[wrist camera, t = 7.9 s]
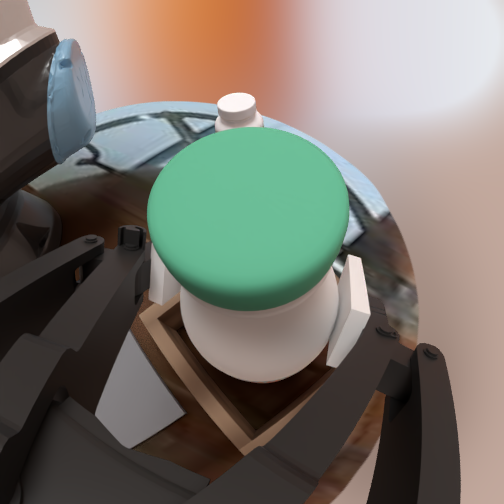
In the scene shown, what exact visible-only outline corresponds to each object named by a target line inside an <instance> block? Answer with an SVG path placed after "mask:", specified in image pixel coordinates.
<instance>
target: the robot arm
mask: <svg viewBox="0 0 504 504" xmlns="http://www.w3.org/2000/svg"><path fill="white" fill-rule="evenodd" d="M95 128H96V112H95V103H94V98H93V92H92V87H91V82H90V78H89V73H88V69H87V66H86V62H85V59H84V56H83V54H82V52H81V49H80V46H79V44H78V42H77V41H76V40H75V39H68V40H67V39H64V40H63V41H61V42H59V40H58V37H57V35H56V32H55V30H54V29H51V28H46V27H40V26H38V25H37V24H36V23H35V22H34V19H33V17H32V14H31V11H30V8H29V5H28V2H27V0H0V504H303V503H304V502H305V501H306V500H307V499H308V497H309V496H310V495H311V494H312V492H313V491H314V490H315V488H316V487H317V485H318V481H319V479H320V478H321V476H322V475H323V473H324V472H325V471H326V469H327V468H328V467H329V465H330V464H331V462H332V461H333V460H334V458H335V457H336V455H337V454H338V452H339V451H340V449H341V448H342V446H343V445H344V443H345V442H346V440H347V439H348V437H349V435H350V434H351V432H352V431H353V429H354V427H355V426H356V424H357V422H358V421H359V419H360V417H361V415H362V414H363V412H364V410H365V408H366V407H367V405H368V403H369V401H370V399H371V398H372V396H373V394H374V392H375V390H378V391H380V392H382V393H384V394H386V397H385V405H384V414H383V422H382V429H381V436H380V443H379V449H378V454H377V460H376V465H375V470H374V475H373V479H372V483H371V488H370V492H369V496H368V500H367V503H366V504H460V492H461V489H460V488H461V485H460V484H461V483H460V481H461V480H460V479H461V478H460V454H459V442H458V432H457V423H456V416H455V409H454V402H453V396H452V391H451V386H450V380H449V376H448V371H447V367H446V362H445V358H444V356H443V354H442V353H441V352H440V350H439V349H438V348H436V347H435V346H432V345H430V344H426V343H420V344H419V345H417V347H416V349H415V350H414V351H413V350H411V349H409V348H407V347H405V346H403V345H402V344H400V343H399V342H398V341H399V334H398V332H397V331H396V330H395V329H394V328H392V327H391V326H389V324H388V320H387V316H386V311H385V307H384V304H383V303H382V302H381V301H380V300H379V299H378V298H375V297H371V296H368V295H367V289H366V283H365V278H364V273H363V267H362V262H361V258H358V257H355V256H352V255H349V254H348V257H347V260H346V263H345V266H344V269H343V272H342V275H341V277H340V280H339V283H338V294H339V304H338V314H337V319H336V323H335V326H334V329H333V331H332V334H331V336H330V339H329V347H328V355H327V362H326V365H328V366H332V367H335V368H336V369H335V371H334V372H333V373H332V374H331V375H330V377H329V378H328V379H327V380H326V381H325V383H324V384H323V385H322V386H321V387H320V388H319V390H318V391H317V392H316V393H315V394H314V395H313V396H312V397H311V399H310V400H309V401H308V402H307V403H306V404H305V405H304V406H303V407H302V408H301V409H300V411H299V412H298V413H297V414H296V415H295V416H294V417H293V418H292V419H291V420H290V421H289V422H288V423H287V424H286V425H285V426H284V427H283V428H282V429H281V430H280V431H279V432H278V433H277V434H276V435H275V436H274V437H273V438H272V439H271V440H270V441H269V442H268V443H266V444H265V445H264V446H258V447H256V448H254V449H253V450H252V451H251V452H249V453H248V454H247V455H246V456H245V457H243V458H242V459H241V460H240V461H239V462H237V463H236V464H235V465H234V466H233V467H231V468H230V469H229V470H228V471H226V472H225V473H224V474H223V475H221V476H220V477H219V478H218V479H216V480H215V481H214V482H212V483H211V484H210V485H209V482H210V479H208V478H206V477H204V476H201V475H199V474H196V473H194V472H192V471H190V470H187V469H185V468H183V467H181V466H179V465H177V464H175V463H173V462H171V461H168V460H164V459H161V458H157V457H154V456H151V455H147V454H144V453H141V452H138V451H135V450H132V449H129V448H127V447H125V446H123V445H122V444H121V443H120V442H119V441H118V440H117V439H116V438H115V437H114V436H113V435H112V434H111V433H110V432H109V430H108V429H107V428H106V427H105V426H104V425H103V424H102V423H101V421H100V420H99V419H98V418H97V417H96V416H95V412H96V409H97V406H98V404H99V401H100V398H101V396H102V393H103V391H104V388H105V385H106V383H107V380H108V378H109V376H110V373H111V371H112V368H113V366H114V364H115V361H116V359H117V356H118V354H119V352H120V350H121V347H122V345H123V343H124V340H125V338H126V336H127V334H128V332H129V329H130V327H131V325H132V323H133V321H134V319H135V316H136V314H137V312H138V310H139V308H140V306H141V304H142V302H143V292H144V291H146V290H147V289H149V300H151V301H153V302H155V303H157V304H160V305H164V304H165V303H166V302H167V301H169V300H170V299H171V298H172V297H174V296H175V295H176V294H177V293H179V292H180V291H181V285H180V283H179V282H178V281H177V280H176V279H175V278H174V277H173V276H172V275H171V273H170V272H169V271H168V269H167V268H166V267H165V265H164V264H163V262H162V261H161V259H160V257H159V256H158V254H157V252H156V250H155V248H154V246H153V243H152V241H150V242H148V243H146V231H147V230H146V229H145V228H143V227H140V226H135V225H125V226H121V227H119V228H118V246H117V247H116V248H115V249H114V250H113V249H108V248H104V239H103V238H102V237H100V236H96V235H87V236H83V237H80V238H78V239H76V240H74V241H72V242H70V243H68V244H66V245H63V246H61V247H59V245H60V241H61V235H62V222H61V218H60V215H59V214H58V212H57V211H56V210H55V209H54V208H53V207H52V206H51V205H50V204H49V203H48V202H47V201H45V200H43V199H41V198H38V197H36V196H34V195H32V194H30V193H28V192H25V191H23V190H21V188H23V187H24V186H25V185H27V184H28V183H30V182H31V181H33V180H34V179H36V178H37V177H39V176H40V175H42V174H43V173H45V172H46V171H48V170H49V169H51V168H53V167H54V166H56V165H57V164H62V163H63V162H64V161H65V160H66V158H68V157H69V156H71V155H72V154H74V153H75V152H77V151H78V150H80V149H82V148H83V147H85V146H86V145H87V144H88V143H89V142H90V141H91V139H92V138H93V136H94V133H95ZM78 267H79V275H80V280H78V281H76V279H75V270H76V269H77V268H78Z"/></svg>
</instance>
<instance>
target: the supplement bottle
mask: <svg viewBox="0 0 504 504" xmlns="http://www.w3.org/2000/svg"><path fill="white" fill-rule="evenodd" d="M217 107H218V114H219V116H218V117H217V119H216V122H215V130H216V133H217V132H220V131H224V130H228V129H233V128H241V127H264V124H263V118H262V116H261V114H260V113H259V112H257V111H256V102H255V99H254V97H253V96H251V95H249V94H246V93H233V94H229V95H226V96H224V97H222V98H221V99H220V100H219V101H218V103H217Z"/></svg>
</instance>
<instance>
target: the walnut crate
mask: <svg viewBox="0 0 504 504" xmlns="http://www.w3.org/2000/svg"><path fill="white" fill-rule="evenodd" d="M335 278H336V282H337V286H338V283H339V280H340V279H339V278H338V277H337V276H336V275H335ZM180 292H181V291H180ZM180 292H179V293H177V294H176V295H175V296H174V297H172V298H171V299H170V300H169V301H167V302H166V303H165V304H164V305H160V304H157V303H154V304H153V305H152V306H150V307H149V308H148V309H146V310H145V311H144V312H143V313H141V314H140V315H139V317H140V318H141V320H142V322H143V323H144V325H145V327H146V328H147V330H148V331H149V333H150V334H151V336H152V338H153V339H154V341H155V342H156V344H157V345H158V347H159V348H160V350H161V351H162V353H163V354H164V356H165V357H166V359H167V360H168V362H169V363H170V364H171V366H172V367H173V369H174V370H175V372H176V373H177V374H178V376H179V377H180V379H181V380H182V381H183V383H184V384H185V385H186V387H187V388H188V389H189V391H190V392H191V393H192V395H193V396H194V397H195V398H196V400H197V401H198V402H199V404H200V405H201V406H202V407H203V409H204V410H205V411H206V412H207V414H208V415H209V416H210V417H211V418H212V420H213V421H214V422H215V423H216V424H217V426H218V427H219V428H220V429H221V430H222V431H223V433H224V434H225V435H226V436H227V437H228V438H229V439H230V441H231V442H232V443H233V444H234V445H235V446H236V447H237V448H238V449H239V450H240V452H241V453H242V454H243V455H244V456H246V455H247V454H248V453H249V452H251V451H252V450H253V449H254V448H256V447H258V446H264V445H265V444H266V443H268V442H269V441H270V440H271V439H272V438H273V437H274V436H275V435H276V434H277V433H278V432H279V431H280V430H281V429H282V428H283V427H284V426H285V425H286V424H287V423H288V422H289V421H290V420H291V419H292V418H293V417H294V416H295V415H296V414H297V413H298V412H299V411H300V409H301V408H302V407H303V406H304V405H305V404H306V403H307V402H308V401H309V400H310V399H311V397H312V396H313V395H314V394H315V393H316V392H317V391H318V390H319V388H320V387H321V386H322V385H323V384H324V383H325V381H326V380H327V379H328V378H329V377H330V375H331V374H332V373H333V372H334V371H335V369H336V368H335V367H332V368H331V369H330V370H329V371H328V372H327V373H325V374H324V375H323V376H322V377H321V378H320V379H319V380H318V381H317V382H315V383H314V384H313V385H312V386H311V387H310V388H309V389H307V390H306V391H305V392H304V393H303V394H302V395H300V396H299V397H298V398H297V399H296V400H294V401H293V402H292V403H291V404H290V405H288V406H287V407H286V408H285V409H283V410H282V411H281V412H280V413H278V414H277V415H276V416H274V417H273V418H272V419H271V420H269V421H268V422H267V423H265V424H264V425H263V426H261V427H260V428H259V429H257V430H255V429H254V428H253V427H252V426H251V424H250V423H249V422H248V421H247V420H246V419H245V418H244V417H243V415H242V414H241V413H240V412H239V411H238V410H237V409H236V407H235V406H234V405H233V404H232V403H231V401H230V400H229V399H228V398H227V397H226V395H225V394H224V393H223V392H222V391H221V389H220V388H219V387H218V386H217V384H216V383H215V382H214V381H213V379H212V378H211V377H210V376H209V374H208V373H207V372H206V371H205V369H204V368H203V367H202V365H201V364H200V363H199V361H198V360H197V359H196V357H195V356H194V355H193V353H192V352H191V351H190V349H189V348H188V347H187V345H186V344H185V342H184V341H183V340H182V338H181V337H180V335H179V334H178V333H177V330H178V329H179V328H181V327H182V326H183V325H184V322H183V319H182V314H181V307H180Z"/></svg>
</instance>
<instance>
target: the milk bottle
mask: <svg viewBox="0 0 504 504" xmlns="http://www.w3.org/2000/svg"><path fill="white" fill-rule="evenodd" d="M147 221H148V228H149V233H150V237H151V241H152V243H153V246H154V248H155V250H156V252H157V254H158V256H159V257H160V259H161V261H162V262H163V264H164V265H165V267H166V268H167V269H168V271H169V272H170V273H171V275H172V276H173V277H174V278H175V279H176V280H177V281H178V282H179V283H180V285H181V292H180V307H181V314H182V319H183V322H184V326H185V328H186V331H187V333H188V336H189V338H190V340H191V341H192V343H193V344H194V346H195V347H196V349H197V350H198V351H199V353H200V354H201V355H202V356H203V357H204V358H205V359H206V360H207V361H208V362H209V363H210V364H211V365H213V366H214V367H216V368H217V369H218V370H220V371H222V372H224V373H226V374H228V375H230V376H232V377H234V378H237V379H240V380H243V381H248V382H254V383H271V382H276V381H280V380H283V379H285V378H288V377H290V376H292V375H294V374H296V373H297V372H299V371H301V370H302V369H303V368H305V367H306V366H307V365H308V364H310V363H311V362H312V361H313V360H314V359H315V358H316V357H317V356H318V355H319V354H320V352H321V351H322V350H323V348H324V347H325V345H326V344H327V342H328V340H329V338H330V336H331V334H332V331H333V329H334V326H335V323H336V319H337V314H338V304H339V294H338V286H337V282H336V278H335V274H334V271H333V268H332V264H333V262H334V260H335V259H336V257H337V255H338V253H339V251H340V248H341V246H342V243H343V240H344V237H345V234H346V231H347V227H348V222H349V199H348V192H347V188H346V184H345V182H344V179H343V177H342V175H341V173H340V171H339V170H338V168H337V167H336V165H335V164H334V162H333V161H332V160H331V159H330V158H329V157H328V156H327V155H326V154H325V153H324V152H323V151H322V150H321V149H319V148H318V147H317V146H315V145H314V144H312V143H311V142H309V141H307V140H305V139H303V138H301V137H299V136H297V135H294V134H292V133H288V132H285V131H282V130H277V129H272V128H264V127H241V128H233V129H228V130H224V131H220V132H217V133H214V134H211V135H208V136H206V137H203V138H201V139H199V140H197V141H196V142H194V143H192V144H190V145H189V146H187V147H186V148H184V149H183V150H182V151H180V152H179V153H178V154H177V155H175V156H174V157H173V158H172V159H171V160H170V161H169V162H168V164H167V165H166V166H165V167H164V168H163V170H162V171H161V172H160V174H159V176H158V177H157V179H156V181H155V183H154V185H153V187H152V190H151V193H150V196H149V200H148V207H147Z"/></svg>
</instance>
